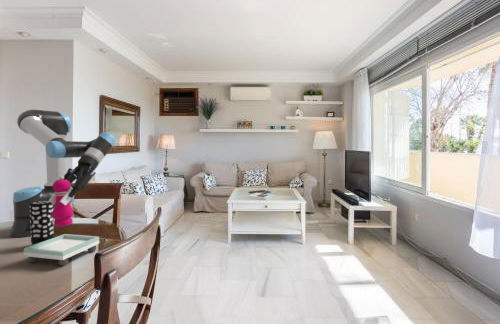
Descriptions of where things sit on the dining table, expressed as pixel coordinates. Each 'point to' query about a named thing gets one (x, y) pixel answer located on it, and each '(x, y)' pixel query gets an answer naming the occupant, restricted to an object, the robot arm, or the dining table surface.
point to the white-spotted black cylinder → (41, 221)
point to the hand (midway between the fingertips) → (57, 202)
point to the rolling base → (61, 247)
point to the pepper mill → (60, 210)
